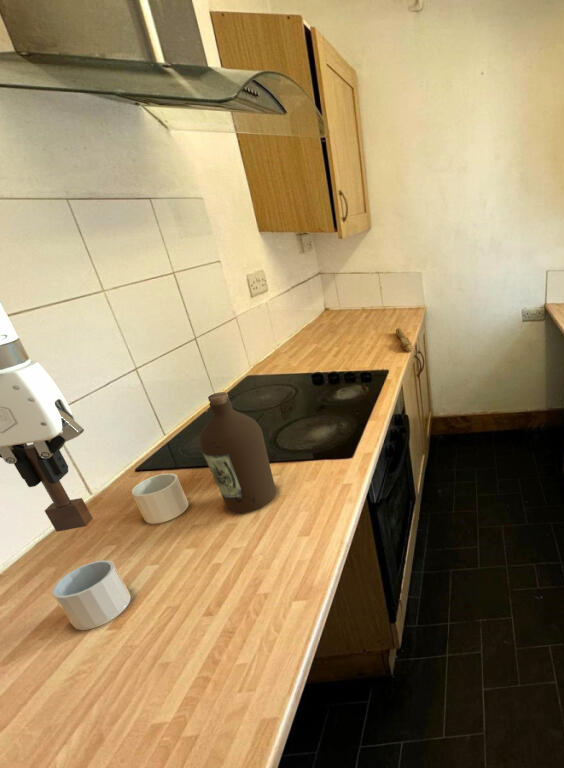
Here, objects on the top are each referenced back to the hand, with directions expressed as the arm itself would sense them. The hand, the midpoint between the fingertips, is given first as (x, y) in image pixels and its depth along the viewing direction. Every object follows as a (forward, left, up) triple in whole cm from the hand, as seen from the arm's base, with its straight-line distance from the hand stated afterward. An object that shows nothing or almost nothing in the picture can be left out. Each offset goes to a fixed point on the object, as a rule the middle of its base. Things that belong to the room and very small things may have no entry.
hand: (49, 478), depth 59 cm
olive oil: (+17, +19, -23) cm, 34 cm away
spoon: (0, 0, -9) cm, 9 cm away
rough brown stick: (+61, +118, -23) cm, 134 cm away
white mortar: (0, -3, -23) cm, 23 cm away
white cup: (+1, +21, -23) cm, 31 cm away
